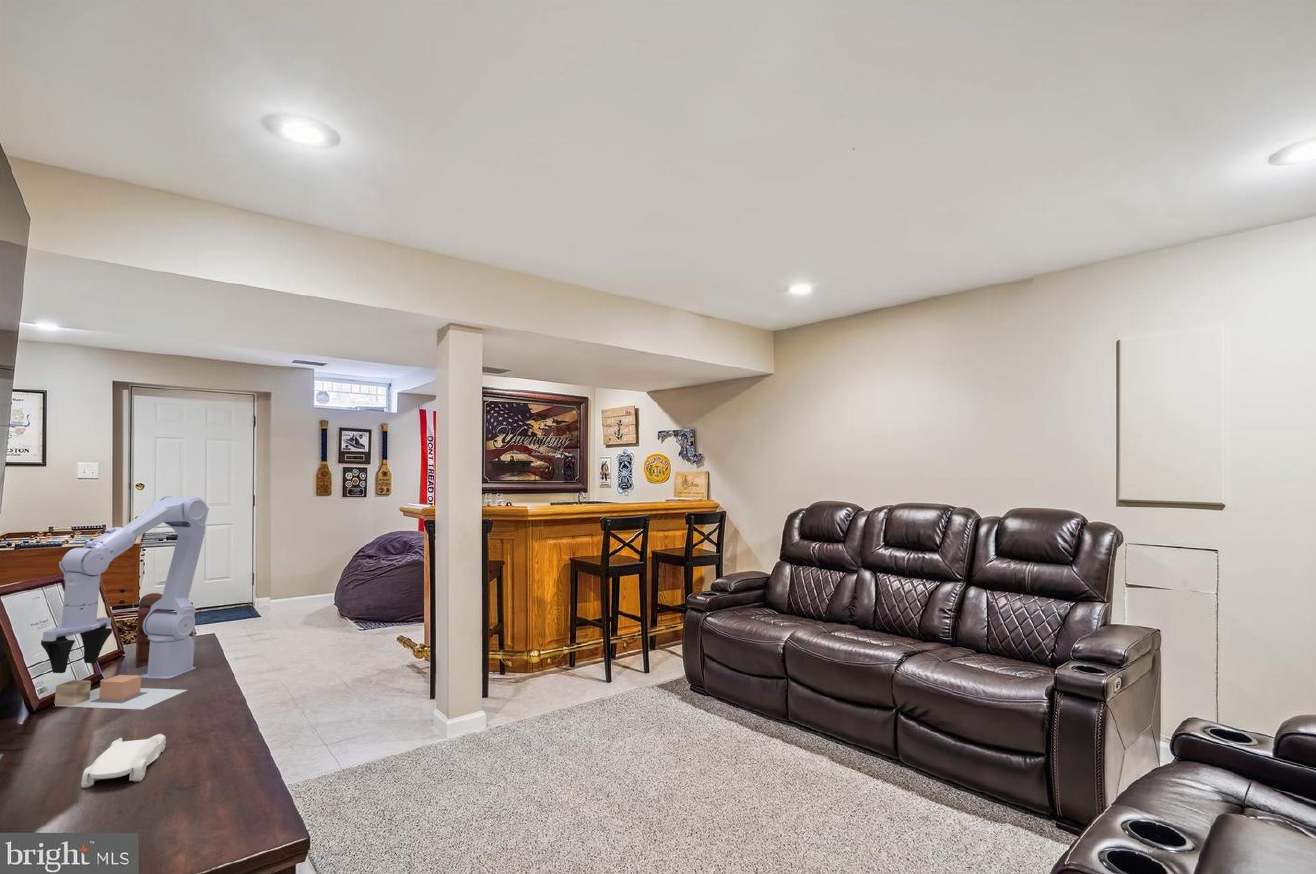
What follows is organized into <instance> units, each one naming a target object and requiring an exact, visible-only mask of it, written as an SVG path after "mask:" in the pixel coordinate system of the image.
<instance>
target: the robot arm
mask: <svg viewBox="0 0 1316 874" xmlns="http://www.w3.org/2000/svg"><path fill="white" fill-rule="evenodd" d="M208 515H209V507H208V505H207V504H206V502H205V500H203V499H202V497H201V498H200V497H194V496H193V497H179V496H169V495H168V496H167V495H166V496H163V497H161V498H159V499H158V500H156V501H154V502H152V504H151V507H150V508H148V509H147V510H146V511H144V512H143V513H141V514H140V515H138V517H136V518H134V519H133V520H131V521H130V522H129V523H127V524H126V525H125V526H124V527H120V526H115V527H108V528H106V529H104V533H103V534H101V535H99V536H98V537H96V538H95V539H92V540H89V541H87V542H85V545H84V546H83V547H74V548H72V549H70V550H69V551H67V552H65V554H64V556H63V557H62V559H61V560H60V561H59V563H58V566H59V569H60V571H61V572H62V573H63V581H64V582H65V583H64V596H63V597H64V598H63V606H62V617H61V624H60V625H59V626H56V627H53V628H52V629H49V630H44V631H42V632H43V633H42V639H41V641H40V645H41V646H42V648H43V649H44V650H45V652H46V654H47V656H48V659H49V662H50V666H51V670H52V673H53V674H64V673H66V672H67V668H68V662H69V656H70V653H71V651H72V648H73V646H74V644H75V642H76V640H75V639H68V637H70V636H71V637H72V636H74V635H79V634H81V637H82V641H83V661H84V664H96V663H97V661H98V658H99V656H100V654H101V651H102V650H103V647H104V645H105V643H106V641H107V640H108V638H109V637H110V636H111V635H112V632H113V628H110V627H111V626H112V617H98V607H99V595H100V584H101V574H102V573H104V572H106V570H107V569H108V568H109V566H110V563H111V562H112V561H113V560H114V559H116V558H117V557H119V556H120V555H122V554H123V553H125V552H126V551H127V550H129V549H130V548H132V547H133V546H134V543H135V539H136V538H139V537H140V536H142V535H143V534H145V533H147V532H149V531H150V530H152V529H154V528H155V527H157V526H159V525H161V524H162V523H164V524H165V525H166V526H168V527H169V528H171V529H172V530H173V531H174V532H175V533H176V535H177V538H176V543H175V547H174V549H173V550H174V551H173V553H172V557H171V562H170V566H169V570H168V573H167V577H166V580H165V584H164V588H163V593H162V598H161V599H160V600H158V601H157V602H155V603H154V604H153V605H152V606H151V609H150V612H149V614H148V615H147V616H146V618H145V620H144V622H143V631H144V632H145V634H147V635H148V639H149V640H150V648H149V660H148V666H147V671H146V673H143V674H141V675H140V676H141V679H142V678H143V679H162V680H163V679H164V680H165V679H167V680H168V679H172V678H175V677H177V676H179V675H182V674H185V673H188V672H190V671H192V670H195V669H196V668H197V667H195V666H194V658H195V657H194V656H195V654H194V653H195V641H194V639H193V637H192V636H190V635H191V634H192V632H193V631H194V629H195V626H196V618H195V616H196V609H197V608H196V606H194V604H193V603H192V602H191V601H190V600H189V597H190V594H191V593H190V592H191V589H192V584H193V582H194V581H193V580H194V577H195V572H196V569H197V565H198V561H199V558H200V553H201V549H202V546H203V542H204V538H205V534H206V522H207V519H208ZM170 610H171V611H170ZM172 610H173V611H172Z"/></svg>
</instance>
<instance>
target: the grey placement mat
mask: <svg viewBox="0 0 1316 874" xmlns="http://www.w3.org/2000/svg"><path fill="white" fill-rule="evenodd" d="M187 691H188V689H178V688H177V689H173V688H171V689H170V688H148V687H145V688H143V687H141V688H140V694H138V695H136V696H133V697H131V698H128V699H126V700H123V701H105V700H99V695H100V687H98V688H95V689H92V690H91V689H90V699H89V700H87V701H84V702H81V703H79V704H76V705H74V706H69V705H55V706H54V707H67V708H68V707H69V708H71V707H72V708H90V709H91V708H92V709H93V708H95V709H97V708H99V709H120V710H145V709H148V708H151V707H153V706H155V705H157V704H160V703H161V702H164V701H166V700H169V699H170V698H174V697H177V695H180V694H182V693H184V692H187Z"/></svg>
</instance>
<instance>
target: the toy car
mask: <svg viewBox="0 0 1316 874" xmlns="http://www.w3.org/2000/svg"><path fill="white" fill-rule="evenodd" d="M166 737H167V736H166V735H164V734H163V733H158V734H155V735H153V736H151V737H149V738H146V739H136V740H135V739H134V740H126V741H123V737H119V738H118V739H115V740H114V741H112V743H111V744H110V746H109V747H108V748H107V749H105V750H104V751H103V752H102V753H101V754H100V755H99V756H98V757H96V759H95V760H94V761H93V763H92V764H90V765H89V766H87V767H86V768H85V769H84V771H83V774H82V778H81V784H80V785H81V787H82V788H83V789H84V788H90V787H92V786H94V783H95V782H96V781H97V782H98V781H100V780H107V779H108V780H109V779H115V778H120V777H123V776H127V775H128V774H129V779H128V780H129V781H133V782H135V783H136V782H142V780H143V779H144V777H145V776H146V771H147V767H148V766H149V765H150V764H152V763H153V762H154V761H156V760H157V759H158V758H159V756H160V755H161V752H162V753H163V752H164V751H165V749H166V743H167V738H166Z"/></svg>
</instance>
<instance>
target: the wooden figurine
mask: <svg viewBox="0 0 1316 874" xmlns="http://www.w3.org/2000/svg"><path fill="white" fill-rule="evenodd" d="M162 595H163V593H159V592H155V593H154V592H152V593H148V594H147V593H146V594H145V595H143V596H142V597H141V599H140V600H139V603H138V610H137V624H136V625H137V628H136V641H135V642H136V643H135V644H136V645H135V667H136V668H138V669H140V668H142V667H148V660H149V648H150V640H149V639H148V635H147V634H145V632H144V631H143V622H144V620H145V618H146V616H147V615H148V614H149V612H150V609H151V606H152V605H153V604H154V603H155V602H157V601H158V600H160V599H161V598H162Z"/></svg>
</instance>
